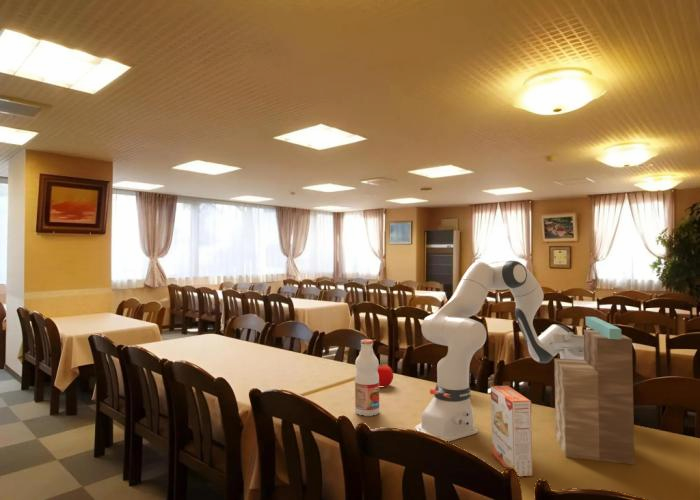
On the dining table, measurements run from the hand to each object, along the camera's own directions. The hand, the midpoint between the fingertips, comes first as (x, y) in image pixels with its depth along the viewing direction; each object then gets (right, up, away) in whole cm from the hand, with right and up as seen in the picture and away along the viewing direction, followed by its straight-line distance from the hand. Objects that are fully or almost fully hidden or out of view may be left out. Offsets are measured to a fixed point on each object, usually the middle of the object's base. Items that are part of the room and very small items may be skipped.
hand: (585, 334), depth 152 cm
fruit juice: (-79, -33, +11) cm, 86 cm away
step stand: (-10, -31, -22) cm, 40 cm away
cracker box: (-39, -32, -31) cm, 59 cm away
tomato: (-71, -33, +44) cm, 90 cm away
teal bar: (-5, +5, -18) cm, 19 cm away
